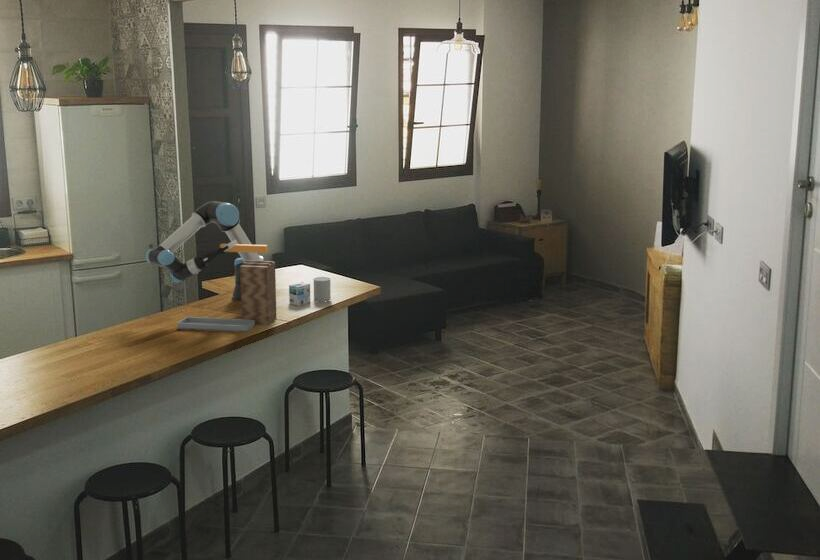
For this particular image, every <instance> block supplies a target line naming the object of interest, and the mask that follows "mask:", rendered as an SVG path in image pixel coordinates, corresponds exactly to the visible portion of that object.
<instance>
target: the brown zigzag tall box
mask: <svg viewBox="0 0 820 560" xmlns="http://www.w3.org/2000/svg"><path fill="white" fill-rule="evenodd" d="M240 281H241V300H240V302H241V303H240V305H241V306H240V307H241V309H240V310H241V319H244V320H255V324H260V325H259V326H270V325H271V324H272V323H273V322H274V321H275V320H277V293H276V292H277V289H276V288H277V283H276V261H273V260H272V261H270V260H265V261H249V260H246V263H244V262H243V263H242V265H241V266H240ZM270 323H271V324H270Z"/></svg>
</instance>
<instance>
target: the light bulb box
mask: <svg viewBox="0 0 820 560" xmlns="http://www.w3.org/2000/svg"><path fill="white" fill-rule="evenodd" d="M288 292H289V294H288V296H289V298H288V299H289V300H288V301H289V305H295V306H297V305H298V306H301V304H302V305H305V304H309V303H311V284H310V283H308V282H304V281H300V282H296V283H293V284H289V285H288ZM308 302H309V303H308Z"/></svg>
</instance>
